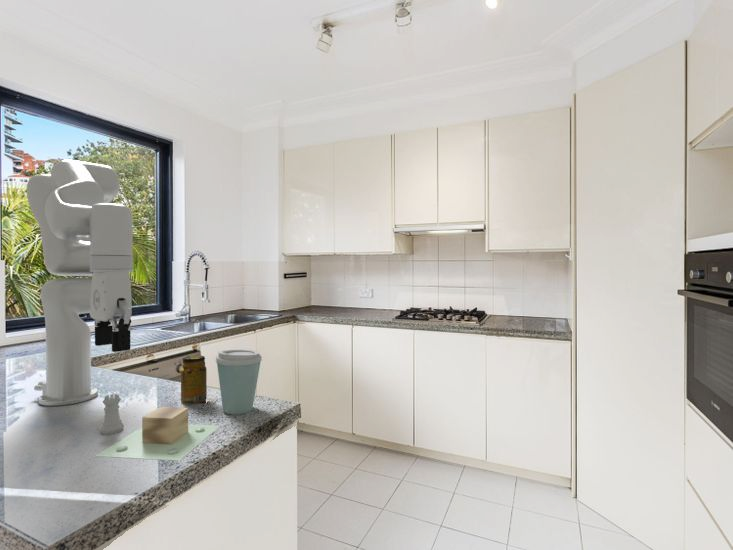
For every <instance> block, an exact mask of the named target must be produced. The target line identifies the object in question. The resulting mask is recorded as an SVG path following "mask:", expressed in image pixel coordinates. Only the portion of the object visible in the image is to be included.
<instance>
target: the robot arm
mask: <svg viewBox="0 0 733 550" xmlns="http://www.w3.org/2000/svg"><path fill="white" fill-rule="evenodd" d="M120 182H121V181H120V178H119V175H118V173H117V172H116V170H115V169H113V167H111V166H109V165H104V164H98V163H92V162H89V161H88V162H87V161H80V160H75V159H74V160H73V159H64V160H59V161H58V162H55V163H54V164H53V166H52V167H51V169H50V174H49V173H48V174H47V173H45V174H42V173H41V174H36V175H33V176H31V177H29V179H28V181H27V184H26V197H27V202H28V205H29V208H30V211H31V214H33V217H34V219H35V220H36V222H37V223H36V224H37V225H38V226H39V230H40V238H41V244H42V245H41V246H42V252H43V253H42V255H43V261H44V266H45V269H46V270H47V272H48V273H49V274H51V275H54V276H61V277H58V278H53V279H50V280H47V281H46V282H45V283H44V284H43V285H42V287H41V290H40V299H41V305H42V308H43V315H44V323H45V324H44V325H45V327H44V328H45V363H46V364H45V380H40V381H38V383H37V384H36V385H34V391H38V392H39V391H40V392H41V391H42V392H41V393H42V395H40V396H39V397H38V399H37V400H38V404H39V405H41V406H48V407H50V406H51V407H52V406H53V407H55V406H67V405H75V404H77V403H78V404H79V403H82V402H85V401H88V400H92V399H94V398H96V397H97V395H98V394H99V389H98V388H96V387H92V349H91V348H92V343H91V342H92V335H91V334H92V332H91V328H90V326H89V325H88V324H87V323H86V321H84V320H83V319H82V318H81V317H80V316H79V315H81V314H89V316H90V319H93V320H94V345H95V346H97V347H100V346H108V345H109V346H110V345H111V352H113V353H118V352H125V351H130V350H131V331H132V326H131V323H132V319H131V318H132V315H133V313H132V312H133V311H132V308H133V307H132V302H133V301H132V286H131V285H132V283H131V276H130V273H133V271H134V264H133V263H134V262H133V261H134V258H133V257H134V255H133V254H134V253H133V250H134V249H133V248H134V246H133V244H134V241H133V239H134V238H133V236H134V235H133V234H134V233H133V232H134V231H133V229H134V228H133V223H134V222H133V218H134V217H133V211H132V209H131V208H130V207H128V206H126V205H123V204H117V203H111V202H112V201H113V200H114V199H115V198H117V195H118V194H119V191H120V186H121V184H120Z"/></svg>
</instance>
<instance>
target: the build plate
mask: <svg viewBox="0 0 733 550" xmlns="http://www.w3.org/2000/svg"><path fill="white" fill-rule="evenodd" d="M220 427H221V425H218V424H215V425H214V424H198V423H197V424H196V423H195V424H193V423H188V433H186V434H185V435H184V436H182V437H181V438H180V439H178V440H177V441H176V442H175V443H173V444H152V443H142V426H141V427H140V428H138V429H136V430H135V431H133V432H132V433H130V434H128V435H127V436H125V437H123V438H122V439H120V440H119V441H117V442H115V443H113V444H112V445H110V446H109V447H107V448H105V449H103V450H102V451H100V452H98V453H97V454H96V455H94V457H103V458H122V459H124V458H125V459H141V460H154V461H155V460H158V461H159V460H160V461H177V462H179V461H181V460H183V459H184V458H185V457H186V456H187V455H188V454H190V453H191V452H192V451H193V450H194V449H195V448H196V447H198V446H199V445H200V444H201V443H202V442H204V440H205V439H207V438H208V437H210V435H212V434H213V433H214V432H215V431H216V430H217V429H218V428H220Z"/></svg>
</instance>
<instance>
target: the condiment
mask: <svg viewBox="0 0 733 550" xmlns="http://www.w3.org/2000/svg"><path fill="white" fill-rule="evenodd" d="M205 359H206V357H205V356H203V355H200V354H196V355H195V354H194V355H187V356H184V357H183V358H182V367H181V369H180V402H181V403H180V404H183V405H190V406H191V405H200V404H202V405H203V404H204V405H214V404H215V403H216V402H217V401H218V400H219V398H218V397H217V398H216V397H215V398H214V397H211V398H207V396H208V395H207V388H208V386H207V380H208V379H207V372H208V371H207V370H208V369H207V366H206V362H205ZM206 399H207V400H209V401H210V400H211V401H210V402H207V404H205V403H206ZM216 400H217V401H216ZM208 403H209V404H208ZM213 403H214V404H213Z"/></svg>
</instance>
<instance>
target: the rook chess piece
mask: <svg viewBox="0 0 733 550" xmlns="http://www.w3.org/2000/svg"><path fill="white" fill-rule="evenodd" d="M121 400H122V399H121V397H120V394H117V393H116V394H110V395H105V396H104V399H103V400H102V403H103V404H104V408H103V410H104V413H105V414H104V418H103V422H102V424H101V425H100V427H99V431H100V433H101V434H102V435H112V434H113V435H114V434H117V433H119V432H121V431H123V429H124V427H125V425H124V423H123V422H122V419H121V417H120V412H119V409H120V408H121V406H120V405H119V403H120V402H121Z"/></svg>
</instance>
